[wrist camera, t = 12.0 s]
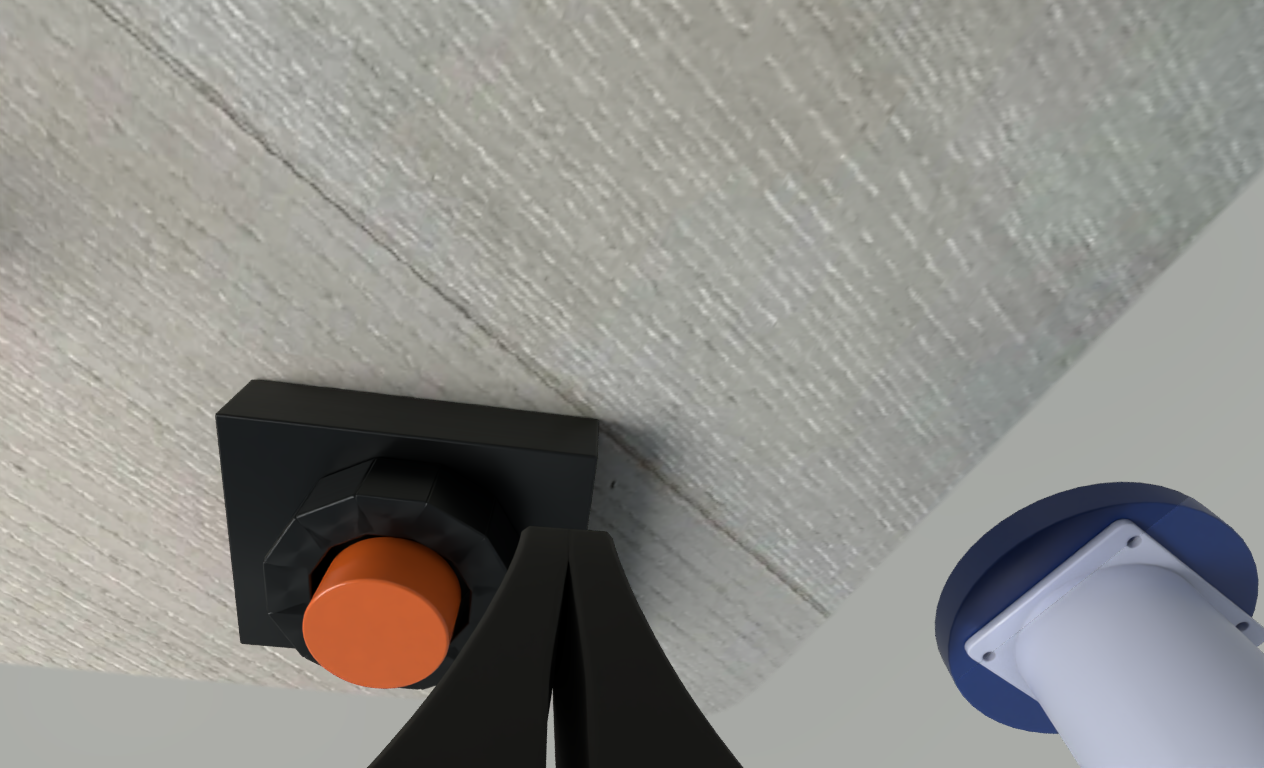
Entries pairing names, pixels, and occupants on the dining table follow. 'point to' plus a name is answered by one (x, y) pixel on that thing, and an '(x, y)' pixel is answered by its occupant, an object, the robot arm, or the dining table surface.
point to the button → (383, 613)
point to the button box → (387, 493)
